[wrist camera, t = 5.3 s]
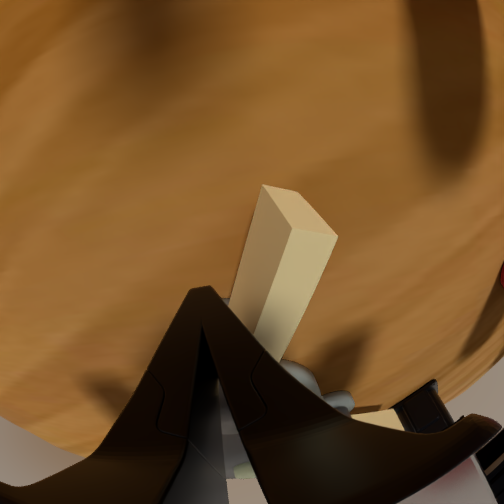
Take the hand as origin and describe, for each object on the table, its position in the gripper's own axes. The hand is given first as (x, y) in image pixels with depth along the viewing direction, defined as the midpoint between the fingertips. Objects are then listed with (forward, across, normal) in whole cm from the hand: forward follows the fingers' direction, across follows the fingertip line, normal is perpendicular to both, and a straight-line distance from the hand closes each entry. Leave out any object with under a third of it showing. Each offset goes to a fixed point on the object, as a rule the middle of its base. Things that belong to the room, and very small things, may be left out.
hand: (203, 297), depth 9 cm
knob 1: (+2, -1, +2) cm, 3 cm away
